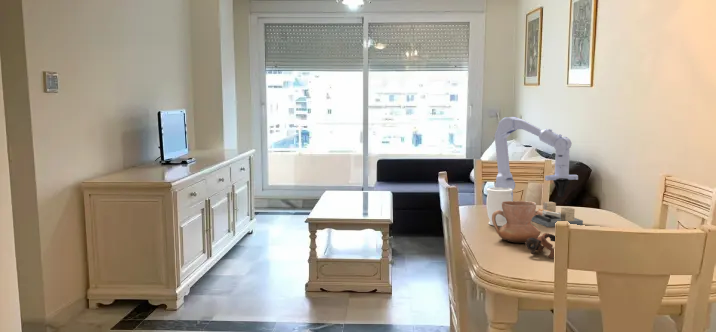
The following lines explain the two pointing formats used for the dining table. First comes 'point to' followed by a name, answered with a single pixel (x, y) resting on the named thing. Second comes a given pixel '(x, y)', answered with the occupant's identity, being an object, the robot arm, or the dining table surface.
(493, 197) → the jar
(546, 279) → the dining table surface
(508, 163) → the robot arm
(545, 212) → the paddle white
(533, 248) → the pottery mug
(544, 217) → the panel
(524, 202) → the ceramic jug
